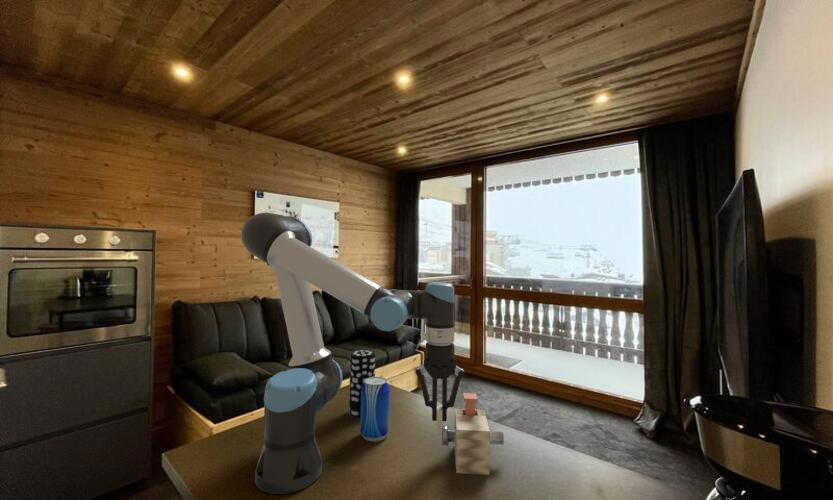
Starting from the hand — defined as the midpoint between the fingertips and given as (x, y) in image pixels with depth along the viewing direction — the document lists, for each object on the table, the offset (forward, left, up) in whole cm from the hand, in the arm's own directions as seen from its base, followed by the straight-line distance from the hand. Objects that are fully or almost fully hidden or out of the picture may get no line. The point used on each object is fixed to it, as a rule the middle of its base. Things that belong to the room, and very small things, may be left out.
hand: (439, 432), depth 93 cm
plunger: (+8, +4, +1) cm, 9 cm away
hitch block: (+8, 0, -7) cm, 11 cm away
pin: (+9, 0, -3) cm, 9 cm away
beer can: (-19, +10, -7) cm, 22 cm away
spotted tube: (-26, +24, -7) cm, 36 cm away
